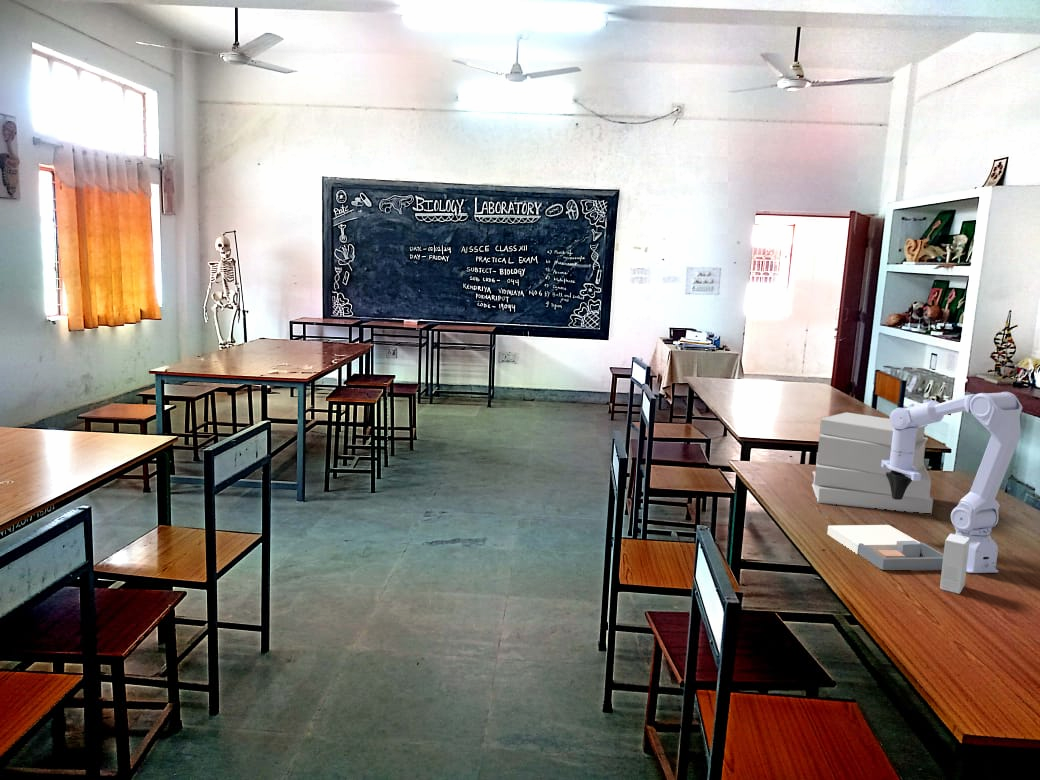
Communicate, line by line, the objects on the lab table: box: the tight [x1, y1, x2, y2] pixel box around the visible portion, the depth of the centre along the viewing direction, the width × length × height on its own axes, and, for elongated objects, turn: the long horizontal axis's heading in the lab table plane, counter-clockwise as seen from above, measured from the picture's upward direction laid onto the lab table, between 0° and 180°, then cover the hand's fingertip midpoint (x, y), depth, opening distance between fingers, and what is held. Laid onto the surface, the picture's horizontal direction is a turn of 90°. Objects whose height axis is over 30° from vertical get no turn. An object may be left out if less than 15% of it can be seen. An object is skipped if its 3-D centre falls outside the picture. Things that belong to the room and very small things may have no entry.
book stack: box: [811, 411, 934, 514], centre depth 241 cm, size 30×35×26 cm
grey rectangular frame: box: [857, 541, 944, 571], centre depth 188 cm, size 11×18×3 cm, turn 96°
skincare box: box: [939, 533, 970, 595], centre depth 173 cm, size 6×4×12 cm
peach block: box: [877, 550, 905, 558], centre depth 189 cm, size 4×5×2 cm
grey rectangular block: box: [896, 541, 921, 558], centre depth 192 cm, size 4×5×2 cm
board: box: [826, 524, 920, 555], centre depth 201 cm, size 15×18×2 cm
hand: (897, 498), depth 207 cm, fingers closed
